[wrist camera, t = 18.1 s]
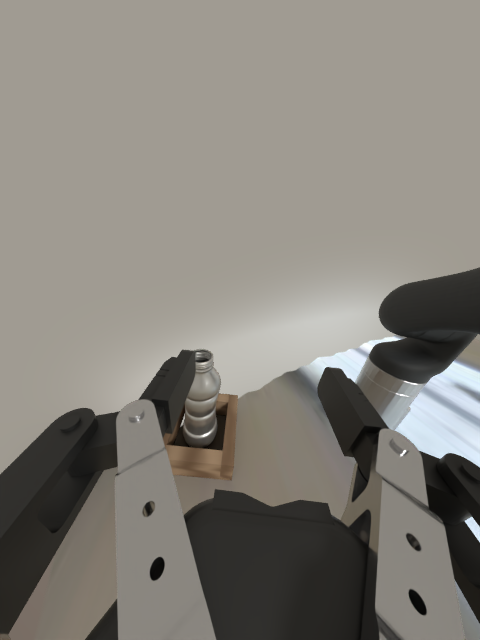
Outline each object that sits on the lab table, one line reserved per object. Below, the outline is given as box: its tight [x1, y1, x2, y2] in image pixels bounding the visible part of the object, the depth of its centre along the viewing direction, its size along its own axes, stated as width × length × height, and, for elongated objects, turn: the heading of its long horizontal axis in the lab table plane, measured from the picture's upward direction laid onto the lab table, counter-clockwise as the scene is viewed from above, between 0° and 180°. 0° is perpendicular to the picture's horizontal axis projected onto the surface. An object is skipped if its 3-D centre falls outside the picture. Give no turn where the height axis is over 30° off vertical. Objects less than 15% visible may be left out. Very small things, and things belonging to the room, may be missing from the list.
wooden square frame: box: [163, 393, 238, 480], centre depth 34 cm, size 14×14×4 cm
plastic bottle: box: [183, 349, 221, 448], centre depth 31 cm, size 6×7×20 cm
